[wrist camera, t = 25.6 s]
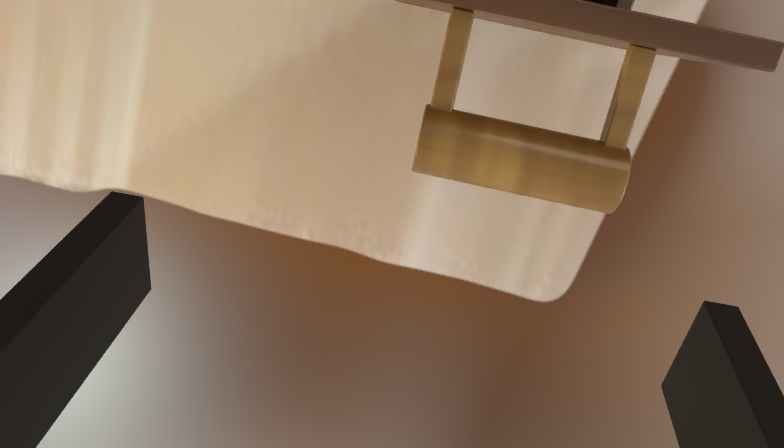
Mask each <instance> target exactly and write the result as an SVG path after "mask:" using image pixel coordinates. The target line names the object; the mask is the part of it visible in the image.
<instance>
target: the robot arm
mask: <svg viewBox="0 0 784 448" xmlns="http://www.w3.org/2000/svg"><path fill="white" fill-rule="evenodd" d="M150 290H151V281H150V269H149V258H148V246H147V234H146V223H145V211H144V199H143V197H140V196H134V195H129V194H123V193H118V192H113V191H112V192H111V193H110V194H109V195H108V196H107V197H105V199H103V200H102V201H101V202H100V203H99V204H98V205H97V206H96V207H95V208H94V209H93V210H92V211H91V212H90V213H89V214H88V215H87V216H86V217H85V218H84V219H83V220H82V221H81V222H80V223H79V224H78V225H77V226H76V227H75V228H74V229H73V230H72V231H71V232H70V233H69V234H67V235H66V236H65V237H64V238H63V239H62V240H61V241H60V242H59V243H58V244H57V245H56V246H55V247H54V248H53V249H52V250H51V251H50V252H49V253H48V254H47V255H46V256H45V257H44V258H43V259H42V260H41V261H40V262H39V263H38V264H37V265H36V266H35V267H34V268H33V269H32V270H31V271H29V272H28V273H27V274H26V275H25V277H23V278H22V279H21V280H20V281H19V282H18V283H17V284H16V285H15V286H14V287H13V288H12V289H11V290H10V291H9V292H8V293H7V294H6V295H5V296H4V297H3V298H2V299H1V300H0V448H36V446H37V445H38V444H39V443H40V441H41V440H42V438H43V437H44V436H45V434H46V433H47V432H48V430H49V429H50V427H51V426H52V425H53V423H54V422H55V421H56V419H57V418H58V416H59V415H60V414H61V412H62V411H63V409H64V408H65V407H66V405H67V404H68V403H69V401H70V400H71V398H72V397H73V396H74V394H75V393H76V392H77V390H78V389H79V388H80V386H81V385H82V383H83V382H84V381H85V379H86V378H87V377H88V375H89V374H90V372H91V371H92V370H93V368H94V367H95V366H96V364H97V362H98V361H99V360H100V359H101V357H102V356H103V354H104V353H105V352H106V350H107V349H108V348H109V346H110V345H111V343H112V342H113V341H114V339H115V338H116V337H117V335H118V334H119V333H120V331H121V330H122V328H123V327H124V326H125V324H126V323H127V321H128V320H129V319H130V317H131V316H132V315H133V313H134V312H135V310H136V309H137V308H138V306H139V305H140V304H141V302H142V301H143V300H144V298H145V296H146V295H147V294H148V293H149V291H150ZM661 387H662V390H663V394H664V397H665V401H666V404H667V407H668V410H669V414H670V417H671V420H672V423H673V427H674V430H675V433H676V437H677V440H678V443H679V447H680V448H784V396H783V394H782V392H781V390H780V388H779V386H778V384H777V382H776V380H775V378H774V376H773V374H772V372H771V370H770V368H769V366H768V365H767V363H766V361H765V359H764V357H763V355H762V353H761V351H760V349H759V347H758V345H757V343H756V341H755V339H754V337H753V335H752V333H751V331H750V329H749V327H748V325H747V323H746V321H745V320H744V318H743V316H742V314H741V312H740V310H739V308H738V307H736V306H731V305H725V304H720V303H714V302H709V301H704V302H703V304H702V306H701V308H700V310H699V312H698V314H697V316H696V318H695V320H694V322H693V324H692V326H691V328H690V330H689V331H688V333H687V336H686V337H685V339H684V341H683V343H682V345H681V347H680V349H679V351H678V353H677V355H676V357H675V359H674V361H673V363H672V365H671V367H670V369H669V371H668V373H667V375H666V377H665V379H664V381H663V383H662V385H661Z"/></svg>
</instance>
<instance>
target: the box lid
mask: <svg viewBox="0 0 784 448" xmlns="http://www.w3.org/2000/svg"><path fill="white" fill-rule="evenodd" d="M396 1H398V2H402V3H406V4H411V5H416V6H421V7H425V8H430V9H435V10H440V11H444V12H449V13H450V18H449V23H448V27H447V32H446V36H445V41H444V46H443V50H442V55H441V59H440V64H439V69H438V73H437V78H436V82H435V87H434V91H433V96H432V101H431V105H430V104H427V105H426V106H425V111H424V115H423V120H422V124H421V129H420V133H419V138H418V143H417V147H416V152H415V157H414V161H413V166H412V171H413V172H417V173H421V174H426V175H431V176H435V177H440V178H444V179H449V180H454V181H458V182H463V183H468V184H472V185H477V186H482V187H486V188H491V189H496V190H500V191H505V192H510V193H514V194H519V195H524V196H528V197H533V198H537V199H542V200H547V201H551V202H556V203H561V204H565V205H570V206H575V207H579V208H584V209H589V210H593V211H598V212H603V213H607V214H608V213H612V212H614V211H615V210H616V208H617V207H618V205H619V204H620V202H621V200H622V198H623V196H624V193H625V190H626V187H627V184H628V180H629V176H630V169H631V154H630V150H629V149H628V148H627V143H628V140H629V137H630V134H631V131H632V128H633V125H634V121H635V118H636V115H637V112H638V109H639V106H640V103H641V99H642V96H643V93H644V90H645V87H646V84H647V81H648V77H649V74H650V71H651V68H652V65H653V62H654V59H655V55H656V54H658V55H664V56H671V57H677V58H684V59H690V60H696V61H703V62H709V63H715V64H722V65H729V66H735V67H741V68H748V69H754V70H760V71H767V72H774V71H775V69H776V67H777V64H778V61H779V59H780V56H781V54H782V51H783V48H784V43H783V42H779V41H774V40H769V39H765V38H760V37H755V36H751V35H746V34H741V33H736V32H731V31H727V30H722V29H717V28H712V27H707V26H703V25H698V24H694V23H689V22H684V21H679V20H674V19H670V18H665V17H660V16H655V15H651V14H646V13H641V12H636V11H632V10H627V9H622V8H617V7H613V6H608V5H603V4H598V3H594V2H589V1H584V0H396ZM473 18H477V19H482V20H487V21H492V22H496V23H501V24H506V25H511V26H515V27H520V28H525V29H530V30H534V31H539V32H544V33H548V34H553V35H558V36H563V37H567V38H572V39H577V40H582V41H586V42H591V43H596V44H601V45H605V46H610V47H615V48H620V49H626V50H627V52H626V55H625V58H624V62H623V65H622V68H621V72H620V75H619V78H618V81H617V85H616V88H615V91H614V95H613V98H612V101H611V104H610V108H609V111H608V114H607V118H606V121H605V124H604V127H603V131H602V134H601V137H600V141H599V140H594V139H589V138H585V137H580V136H575V135H571V134H566V133H561V132H557V131H552V130H547V129H543V128H538V127H533V126H529V125H524V124H519V123H514V122H510V121H505V120H500V119H496V118H491V117H486V116H482V115H477V114H472V113H468V112H463V111H458V110H454V109H453V106H454V101H455V97H456V93H457V88H458V84H459V80H460V75H461V71H462V67H463V62H464V58H465V53H466V49H467V45H468V40H469V36H470V32H471V27H472V23H473Z"/></svg>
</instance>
